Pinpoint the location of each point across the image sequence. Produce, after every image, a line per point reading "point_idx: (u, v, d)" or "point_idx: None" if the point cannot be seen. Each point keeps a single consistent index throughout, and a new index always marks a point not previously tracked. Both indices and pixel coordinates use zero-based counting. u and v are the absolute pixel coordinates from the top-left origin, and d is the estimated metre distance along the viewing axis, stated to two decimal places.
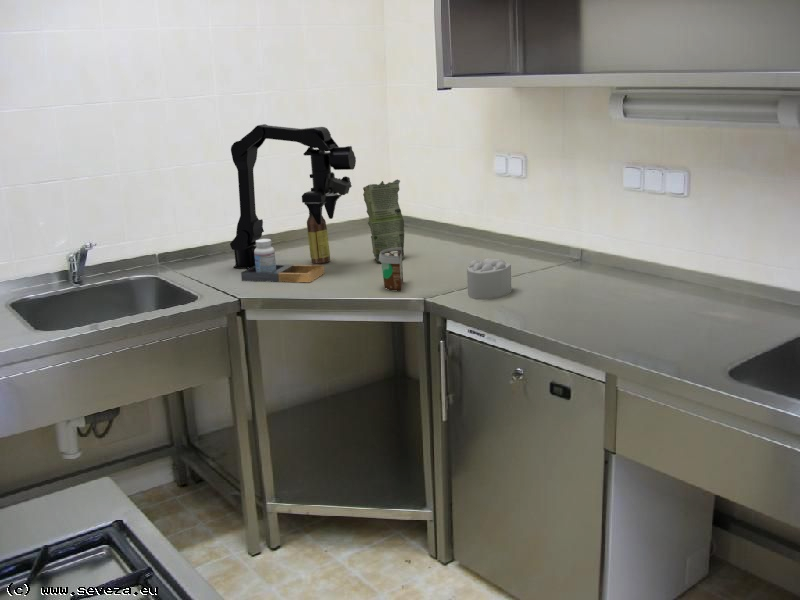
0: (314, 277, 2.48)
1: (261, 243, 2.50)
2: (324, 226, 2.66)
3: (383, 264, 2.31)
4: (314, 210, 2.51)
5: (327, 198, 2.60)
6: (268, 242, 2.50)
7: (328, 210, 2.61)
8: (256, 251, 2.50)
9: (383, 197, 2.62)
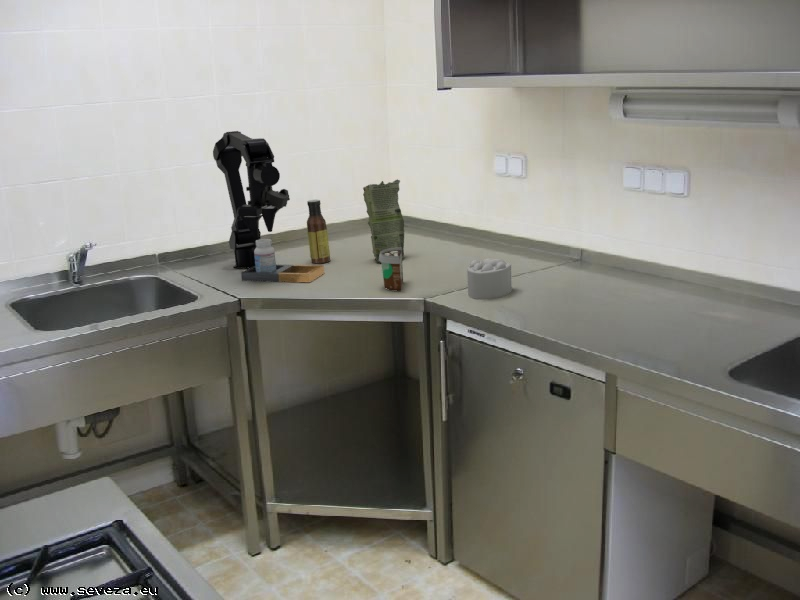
0: (314, 277, 2.48)
1: (261, 243, 2.50)
2: (324, 226, 2.66)
3: (383, 264, 2.31)
4: (250, 224, 2.45)
5: (265, 211, 2.55)
6: (268, 242, 2.50)
7: (267, 223, 2.55)
8: (256, 251, 2.50)
9: (383, 197, 2.62)
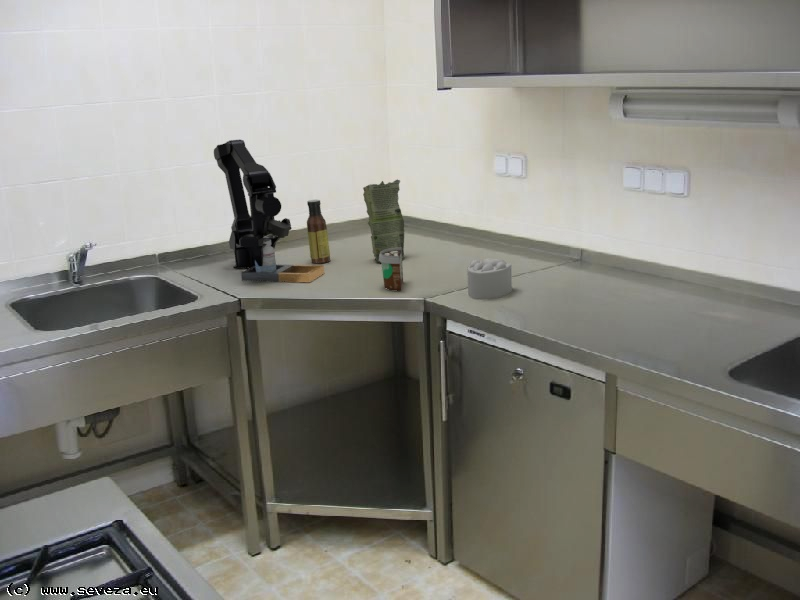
0: (314, 277, 2.48)
1: None
2: (324, 226, 2.66)
3: (383, 264, 2.31)
4: (255, 252, 2.49)
5: None
6: (268, 242, 2.50)
7: None
8: None
9: (383, 197, 2.62)
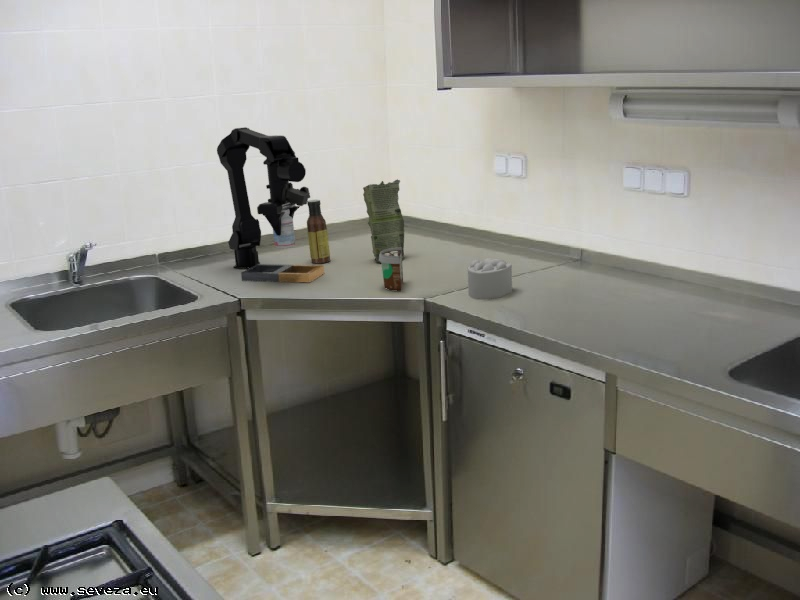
0: (314, 277, 2.48)
1: None
2: (324, 226, 2.66)
3: (383, 264, 2.31)
4: (273, 221, 2.44)
5: None
6: (286, 211, 2.45)
7: None
8: None
9: (383, 197, 2.62)
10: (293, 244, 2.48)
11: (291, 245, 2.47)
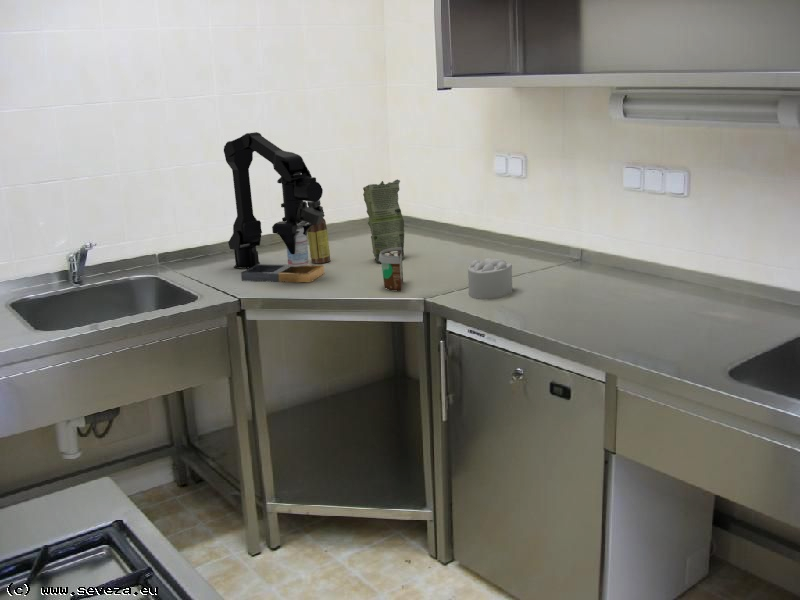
0: (314, 277, 2.48)
1: None
2: (324, 226, 2.66)
3: (383, 264, 2.31)
4: (287, 240, 2.44)
5: None
6: (301, 229, 2.46)
7: None
8: None
9: (383, 197, 2.62)
10: (307, 262, 2.49)
11: (305, 263, 2.48)
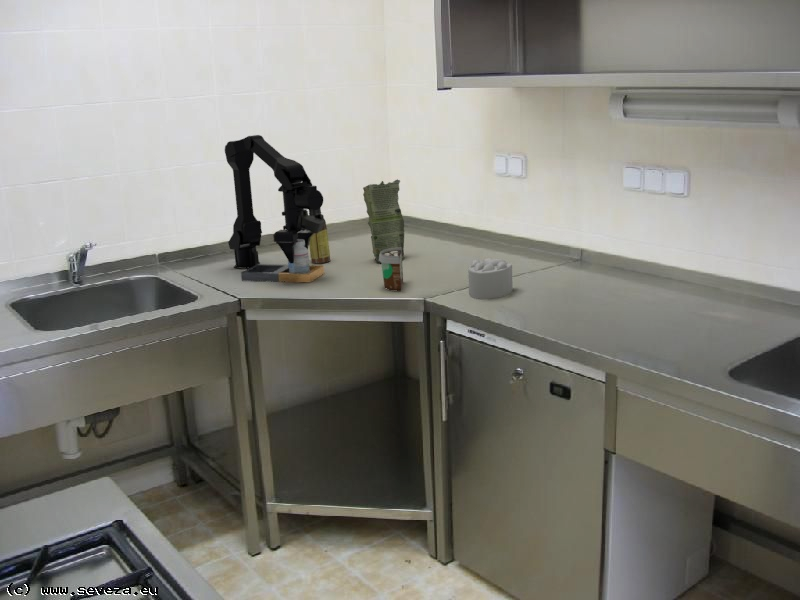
0: (314, 277, 2.48)
1: None
2: (324, 226, 2.66)
3: (383, 264, 2.31)
4: (286, 249, 2.43)
5: (300, 235, 2.53)
6: (302, 242, 2.47)
7: None
8: None
9: (383, 197, 2.62)
10: None
11: None
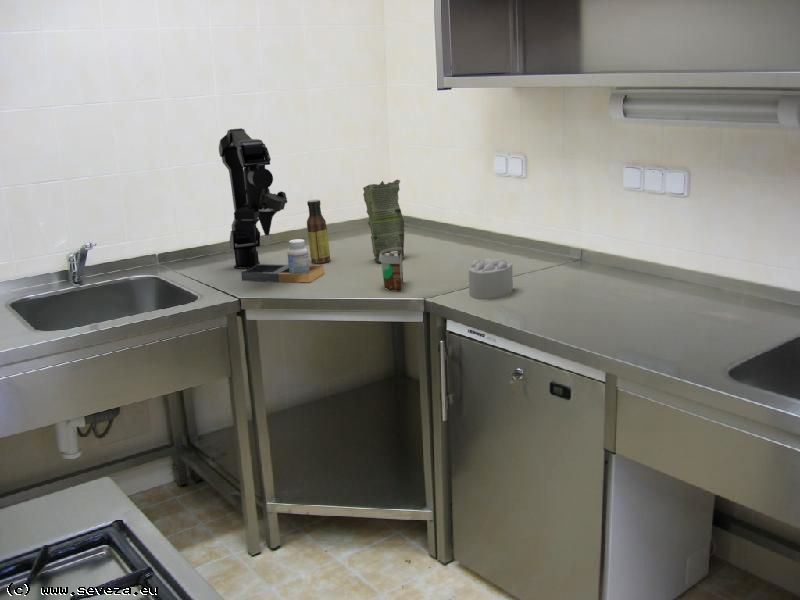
0: (314, 277, 2.48)
1: (295, 243, 2.46)
2: (324, 226, 2.66)
3: (383, 264, 2.31)
4: (247, 227, 2.39)
5: (262, 214, 2.49)
6: (302, 242, 2.47)
7: (264, 226, 2.49)
8: (290, 252, 2.47)
9: (383, 197, 2.62)
10: None
11: None
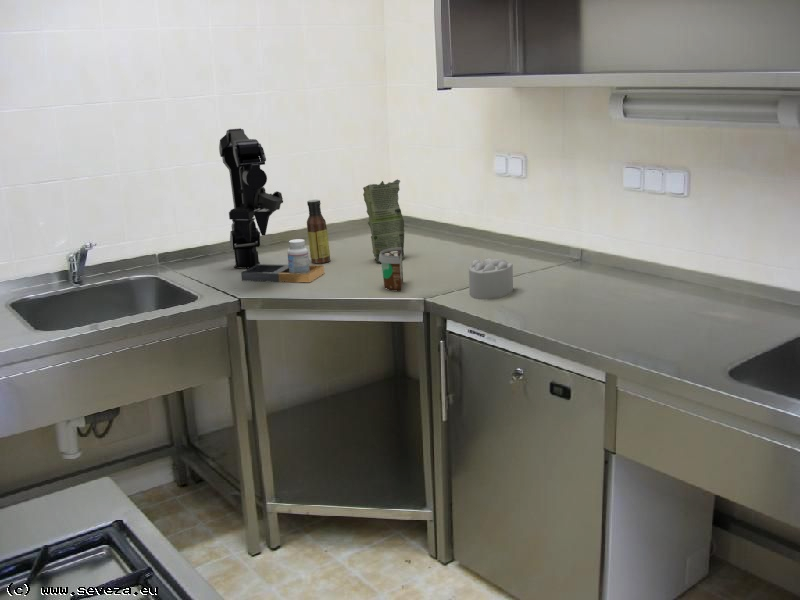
0: (314, 277, 2.48)
1: (295, 243, 2.46)
2: (324, 226, 2.66)
3: (383, 264, 2.31)
4: (243, 227, 2.39)
5: (259, 214, 2.49)
6: (302, 242, 2.47)
7: (260, 226, 2.49)
8: (290, 251, 2.47)
9: (383, 197, 2.62)
10: None
11: None
